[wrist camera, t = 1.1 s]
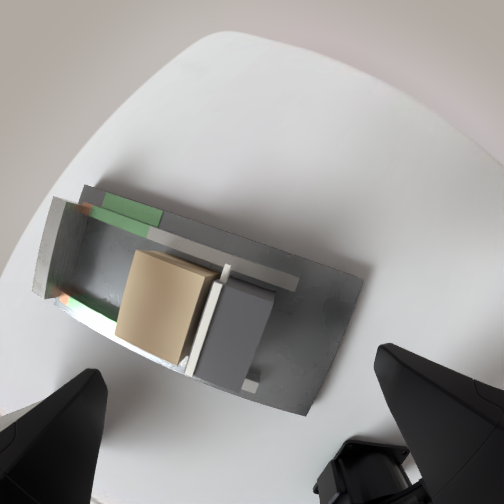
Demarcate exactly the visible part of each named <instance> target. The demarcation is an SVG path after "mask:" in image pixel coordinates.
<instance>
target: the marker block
mask: <svg viewBox="0 0 504 504" xmlns="http://www.w3.org/2000/svg"><path fill="white" fill-rule="evenodd" d="M220 275H221V273H220V272H218V271H215V270H212V269H209V268H207V267H204V266H201V265H199V264H196V263H193V262H191V261H188V260H185V259H183V258H180V257H177V256H175V255H172V254H169V253H167V252H162V251H147V250H136V251H135V254H134V258H133V261H132V265H131V268H130V272H129V275H128V279H127V283H126V286H125V290H124V294H123V298H122V302H121V306H120V310H119V315H118V319H117V323H116V328H115V332H114V335H115V336H116V337H118V338H120V339H122V340H124V341H126V342H128V343H130V344H132V345H134V346H136V347H138V348H140V349H142V350H144V351H146V352H148V353H150V354H152V355H154V356H156V357H158V358H160V359H163V360H165V361H167V362H169V363H171V364H174V365H176V366H177V365H178V364H179V363H180V362H181V361H182V360H183V359H184V358H185V357H186V356H187V355H188V354H189V353H190V351H191V347H192V344H193V341H194V338H195V335H196V332H197V329H198V325H199V322H200V319H201V316H202V313H203V310H204V307H205V304H206V301H207V298H208V295H209V292H210V289H211V286H212V283H213V281H214V280H217V279H219V278H220Z"/></svg>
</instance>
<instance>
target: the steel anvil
mask: <svg viewBox="0 0 504 504" xmlns="http://www.w3.org/2000/svg"><path fill="white" fill-rule="evenodd" d="M81 207H82V204H79V203H76V202H73V201H69V200H65V199H62V198H58V197H54V196H53V200H52V203H51V206H50V209H49V213H48V216H47V220H46V224H45V228H44V232H43V236H42V240H41V244H40V249H39V253H38V258H37V263H36V268H35V274H34V280H33V286H32V291H33V292H34V293H35V294H37V295H38V296H40V297H41V298H42V299H49V298H55V297H59V296H60V291H62V290H70V288H71V283H72V278H73V273H74V269H75V265H76V260H77V256H78V252H79V248H80V245H81V241H82V237H83V234H84V230H85V227H86V223H87V220H88V217H89V216H88V215H85V214H83V213H80V210H81Z"/></svg>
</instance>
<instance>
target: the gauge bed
mask: <svg viewBox="0 0 504 504" xmlns="http://www.w3.org/2000/svg"><path fill="white" fill-rule="evenodd" d="M79 204H82V207H81V210H80V213H83V214H85V215H88V216H89V217H88V220H87V223H86V227H85V230H84V234H83V237H82V241H81V245H80V248H79V252H78V256H77V260H76V265H75V269H74V273H73V278H72V283H71V288H70V290H62V291H60V296H59V297H55V302H54V305H55V306H57V307H58V308H60V309H61V310H63V311H64V312H66V313H68V314H69V315H71V316H72V317H74V318H75V319H77V320H79V321H80V322H82V323H84V324H85V325H87V326H89V327H90V328H92V329H94V330H95V331H97V332H99V333H101V334H102V335H104V336H106V337H108V338H110V339H111V340H113V341H115V342H117V343H119V344H121V345H122V346H124V347H126V348H128V349H130V350H132V351H134V352H136V353H138V354H140V355H142V356H144V357H146V358H148V359H150V360H152V361H154V362H156V363H159V364H161V365H163V366H165V367H167V368H169V369H172V370H174V371H176V372H178V373H181V374H183V375H185V376H188V375H186V374H185V372H184V370H185V367H186V363H187V360H188V357H189V354H190V353H189V354H188V355H187V356H186V357H185V358H184V359H183V360H182V361H181V362H180V363H179V364H178V365H177V366H176V365H174V364H171V363H169V362H167V361H165V360H163V359H160V358H158V357H156V356H154V355H152V354H150V353H148V352H146V351H144V350H142V349H140V348H138V347H136V346H134V345H132V344H130V343H128V342H126V341H124V340H122V339H120V338H118V337H116V336H115V335H114V332H115V328H116V323H117V319H118V315H119V310H120V306H121V302H122V298H123V294H124V290H125V286H126V283H127V279H128V275H129V272H130V268H131V265H132V261H133V258H134V254H135V251H136V250H147V251H162V252H167V253H169V254H172V255H175V256H177V257H180V258H183V259H185V260H188V261H191V262H193V263H196V264H199V265H201V266H204V267H207V268H209V269H212V270H215V271H218V272H220V273H221V274H222V272H223V269H224V266H225V264H226V263H227V264H230V265H233V266H232V268H231V271H230V274H229V276H230V277H232V278H235V279H238V280H241V281H243V282H246V283H249V284H252V285H255V286H257V287H260V288H263V289H266V290H269V291H272V292H275V298H274V304H273V307H272V310H271V312H270V315H269V318H268V320H267V323H266V326H265V328H264V331H263V334H262V336H261V339H260V342H259V344H258V347H257V350H256V352H255V355H254V357H253V360H252V363H251V365H250V368H249V370H248V373H247V375H246V378H245V380H244V383H243V385H242V388H241V390H240V393H237V392H234V391H231V390H229V389H226V388H223V387H220V386H218V385H215V384H213V383H210V382H207V381H205V380H202V379H200V378H198V377H195V376H192V377H190V376H188V377H190V378H192V379H195V380H197V381H200V382H202V383H205V384H207V385H210V386H212V387H215V388H218V389H220V390H223V391H226V392H228V393H231V394H234V395H237V396H240V397H242V398H245V399H248V400H251V401H254V402H257V403H261V404H264V405H267V406H270V407H274V408H277V409H280V410H284V411H287V412H291V413H295V414H298V415H302V416H306V415H307V413H308V411H309V410H310V408H311V406H312V404H313V402H314V400H315V397H316V395H317V393H318V391H319V389H320V387H321V385H322V383H323V381H324V379H325V376H326V374H327V372H328V370H329V368H330V365H331V363H332V361H333V359H334V356H335V354H336V352H337V349H338V347H339V345H340V342H341V340H342V337H343V335H344V332H345V330H346V327H347V325H348V322H349V320H350V317H351V314H352V312H353V309H354V306H355V304H356V301H357V298H358V295H359V293H360V290H361V287H362V284H363V281H364V279H361V278H358V277H356V276H353V275H350V274H347V273H344V272H342V271H339V270H336V269H333V268H330V267H327V266H325V265H322V264H319V263H316V262H313V261H310V260H307V259H305V258H302V257H299V256H296V255H293V254H290V253H287V252H284V251H282V250H279V249H276V248H273V247H270V246H267V245H264V244H261V243H258V242H255V241H253V240H250V239H247V238H244V237H241V236H238V235H235V234H232V233H229V232H226V231H223V230H220V229H217V228H214V227H211V226H209V225H206V224H203V223H200V222H197V221H194V220H191V219H188V218H185V217H182V216H179V215H176V214H173V213H170V212H167V211H164V210H161V209H158V208H155V207H152V206H149V205H146V204H143V203H140V202H137V201H134V200H131V199H128V198H124V197H121V196H118V195H115V194H112V193H109V192H106V191H103V190H100V189H97V188H94V187H91V186H88V185H84V188H83V191H82V193H81V196H80V199H79ZM220 277H221V275H220ZM219 279H220V278H219Z"/></svg>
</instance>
